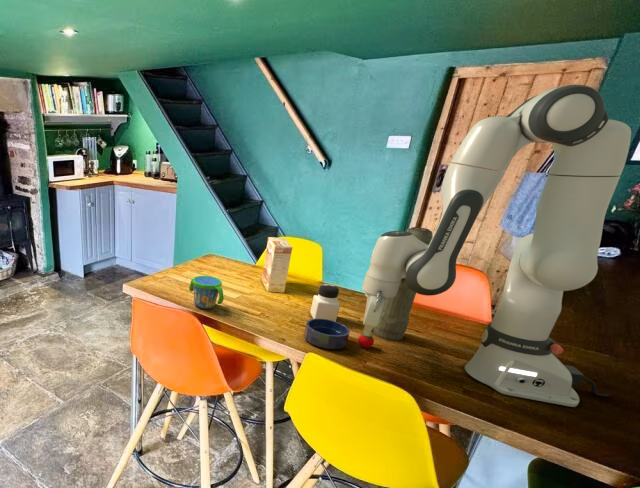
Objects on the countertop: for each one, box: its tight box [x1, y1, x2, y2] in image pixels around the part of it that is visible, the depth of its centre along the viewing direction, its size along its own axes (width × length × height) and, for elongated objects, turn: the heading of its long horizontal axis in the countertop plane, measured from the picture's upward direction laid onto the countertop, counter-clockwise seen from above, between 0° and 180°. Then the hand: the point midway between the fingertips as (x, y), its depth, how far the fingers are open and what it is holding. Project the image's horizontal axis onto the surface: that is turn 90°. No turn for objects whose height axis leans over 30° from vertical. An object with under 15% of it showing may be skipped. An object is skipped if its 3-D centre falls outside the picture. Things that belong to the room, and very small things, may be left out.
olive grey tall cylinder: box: [372, 226, 434, 342], centre depth 125 cm, size 9×12×35 cm
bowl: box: [303, 318, 351, 350], centre depth 126 cm, size 12×12×5 cm
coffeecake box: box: [261, 236, 293, 293], centre depth 168 cm, size 15×7×20 cm, turn 172°
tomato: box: [357, 333, 375, 349], centre depth 123 cm, size 4×4×4 cm
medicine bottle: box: [309, 283, 341, 322], centre depth 141 cm, size 7×7×12 cm
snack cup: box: [188, 275, 224, 310], centre depth 149 cm, size 16×10×10 cm
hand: (366, 328), depth 122 cm, fingers open, 8 cm apart
